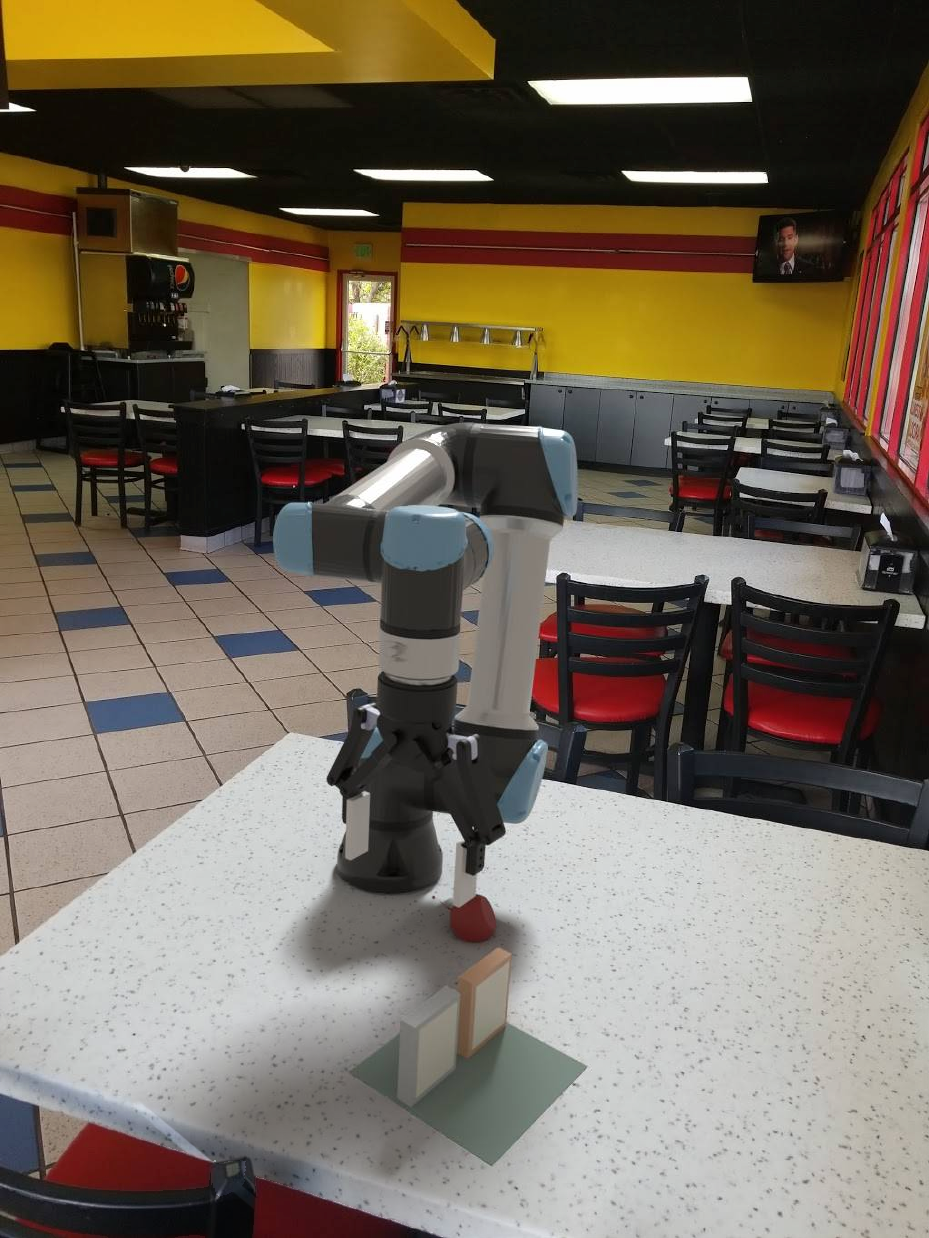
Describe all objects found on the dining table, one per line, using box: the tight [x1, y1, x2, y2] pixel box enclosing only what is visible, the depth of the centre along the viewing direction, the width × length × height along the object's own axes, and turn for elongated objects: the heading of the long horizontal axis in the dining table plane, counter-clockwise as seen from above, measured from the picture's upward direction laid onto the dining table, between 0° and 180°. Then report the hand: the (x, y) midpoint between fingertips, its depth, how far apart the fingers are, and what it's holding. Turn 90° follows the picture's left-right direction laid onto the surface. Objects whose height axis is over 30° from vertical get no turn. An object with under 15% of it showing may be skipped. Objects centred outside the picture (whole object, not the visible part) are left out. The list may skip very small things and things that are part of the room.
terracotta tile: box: [457, 947, 513, 1059], centre depth 102 cm, size 2×7×9 cm, turn 142°
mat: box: [348, 1021, 589, 1167], centre depth 99 cm, size 18×17×1 cm
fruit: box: [431, 893, 497, 943], centre depth 122 cm, size 6×6×8 cm
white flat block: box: [397, 985, 460, 1107], centre depth 95 cm, size 2×7×9 cm, turn 142°
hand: (408, 876), depth 95 cm, fingers open, 13 cm apart
